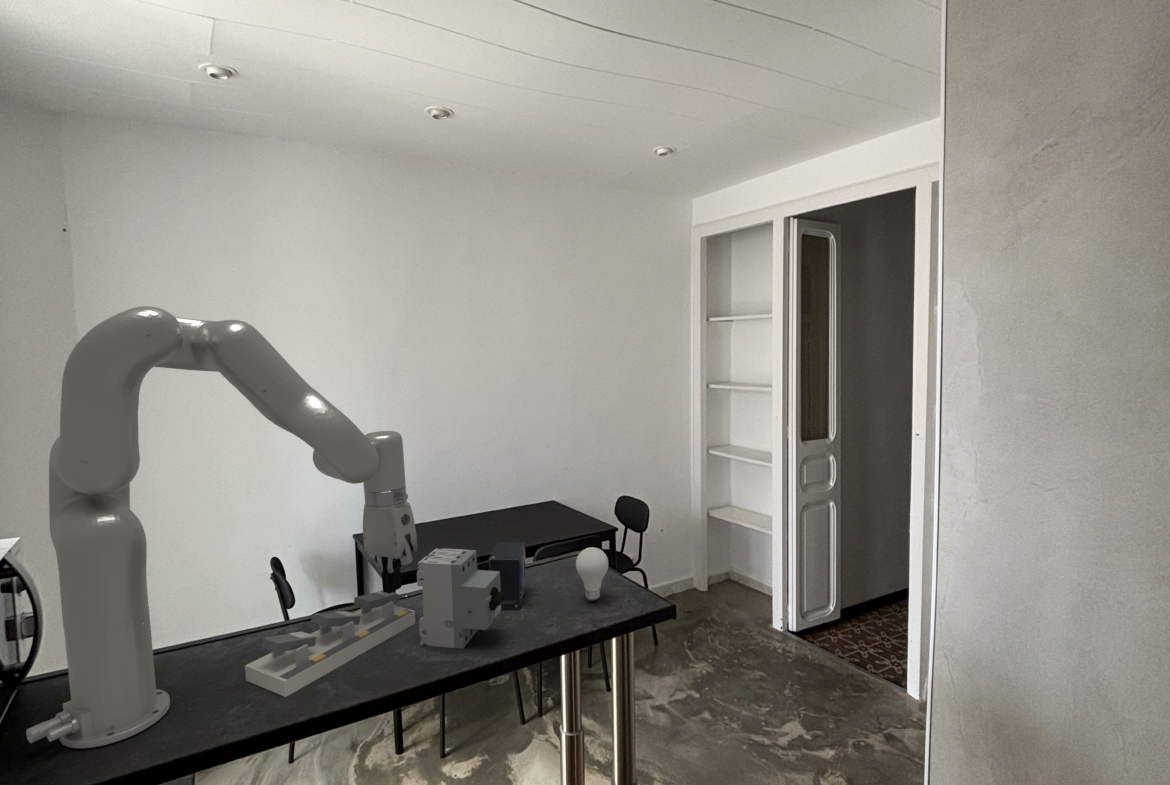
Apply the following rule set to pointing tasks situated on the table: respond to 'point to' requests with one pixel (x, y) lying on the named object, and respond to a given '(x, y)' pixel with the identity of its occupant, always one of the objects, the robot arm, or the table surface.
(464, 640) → the circuit breaker
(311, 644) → the rocker
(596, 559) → the light bulb
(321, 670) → the switch unit
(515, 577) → the small box
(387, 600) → the rocker
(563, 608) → the table surface
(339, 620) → the rocker
